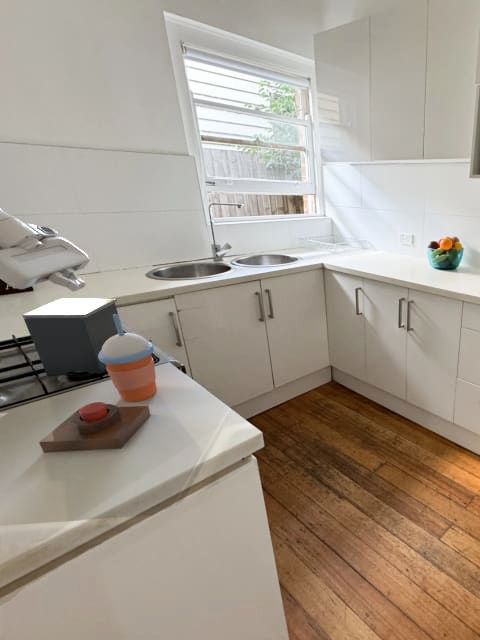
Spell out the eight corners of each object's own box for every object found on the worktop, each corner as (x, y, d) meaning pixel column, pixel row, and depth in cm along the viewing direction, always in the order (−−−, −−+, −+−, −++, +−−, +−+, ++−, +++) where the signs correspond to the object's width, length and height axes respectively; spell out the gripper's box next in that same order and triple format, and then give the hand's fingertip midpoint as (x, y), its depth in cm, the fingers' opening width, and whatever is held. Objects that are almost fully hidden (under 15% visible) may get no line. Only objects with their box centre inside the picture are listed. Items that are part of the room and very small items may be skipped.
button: (77, 422, 65) (73, 413, 65) (90, 410, 69) (87, 402, 68) (99, 421, 66) (96, 412, 65) (112, 409, 69) (109, 401, 68)
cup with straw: (117, 389, 82) (91, 310, 75) (166, 380, 86) (146, 304, 79) (109, 410, 75) (79, 325, 68) (163, 400, 79) (140, 318, 71)
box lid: (117, 301, 93) (116, 298, 93) (85, 317, 83) (84, 314, 82) (62, 301, 92) (61, 298, 91) (23, 318, 81) (21, 314, 81)
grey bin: (130, 352, 99) (114, 301, 93) (102, 373, 88) (82, 317, 83) (81, 353, 97) (62, 302, 92) (46, 375, 87) (23, 318, 81)
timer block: (43, 452, 63) (34, 433, 62) (83, 418, 72) (76, 400, 71) (121, 448, 65) (114, 429, 63) (151, 415, 74) (145, 397, 72)
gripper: (-23, 240, 70) (54, 290, 76) (57, 226, 89) (114, 268, 94) (-40, 264, 72) (37, 312, 77) (42, 245, 90) (100, 285, 95)
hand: (80, 287), depth 86 cm, fingers closed
